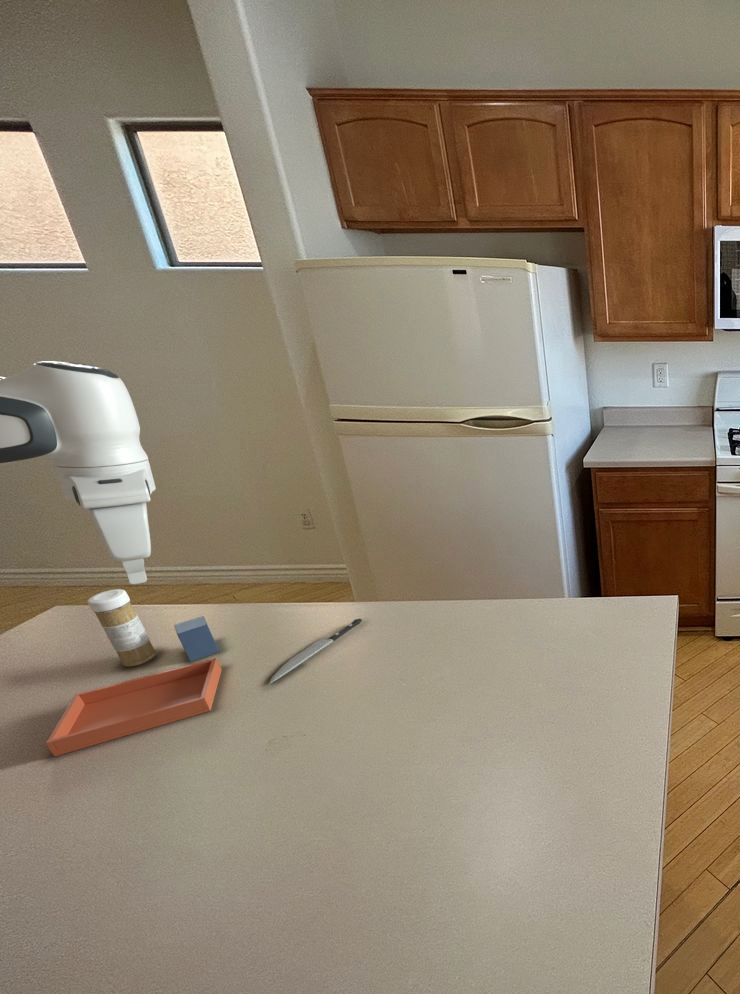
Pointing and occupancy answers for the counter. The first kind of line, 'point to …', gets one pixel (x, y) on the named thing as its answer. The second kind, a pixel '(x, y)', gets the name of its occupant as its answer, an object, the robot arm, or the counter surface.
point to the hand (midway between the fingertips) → (134, 572)
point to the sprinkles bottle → (122, 627)
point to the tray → (135, 706)
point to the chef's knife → (311, 651)
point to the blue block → (196, 638)
